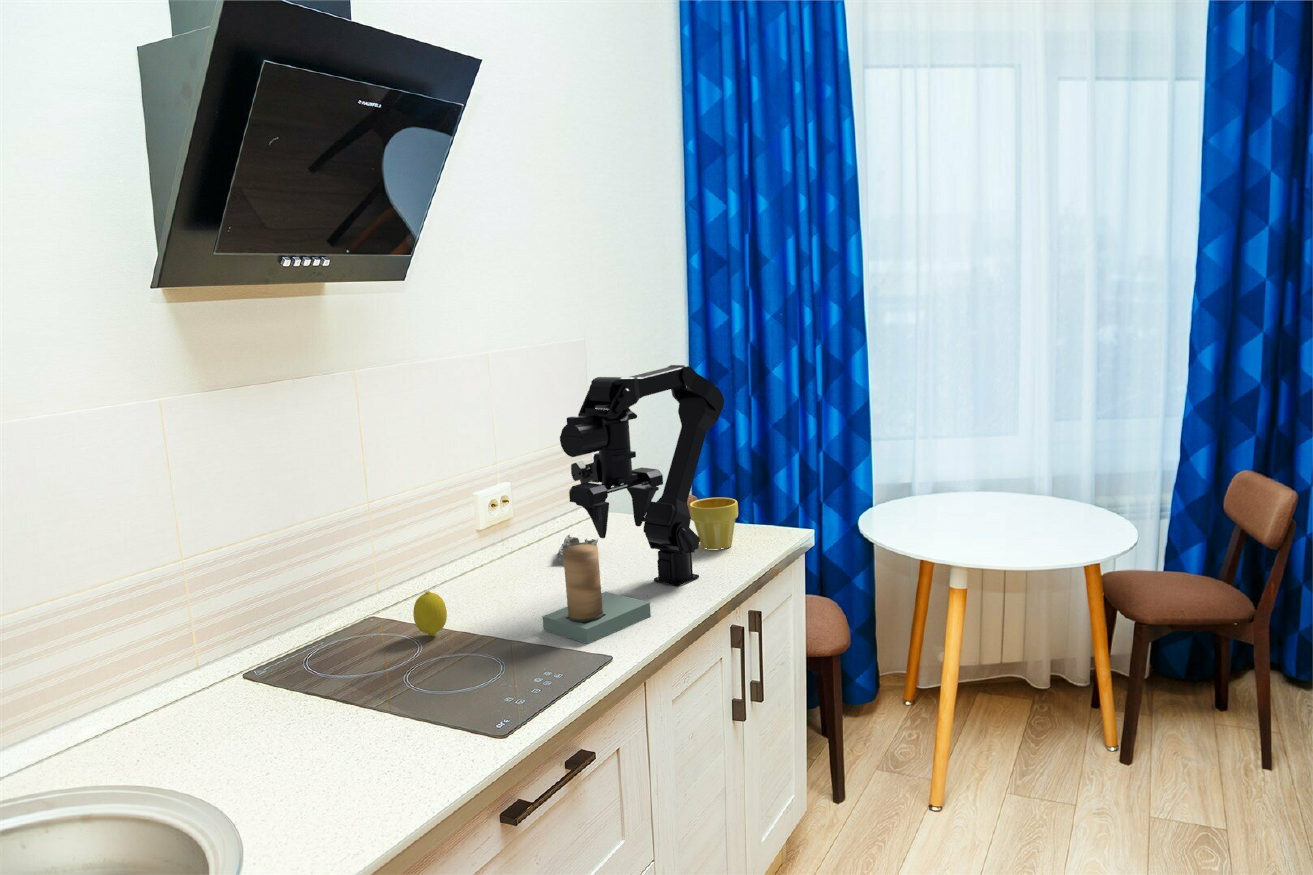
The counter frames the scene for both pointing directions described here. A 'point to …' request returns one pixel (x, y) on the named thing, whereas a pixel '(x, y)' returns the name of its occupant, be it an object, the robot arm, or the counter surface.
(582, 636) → the board
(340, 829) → the counter surface
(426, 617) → the lemon
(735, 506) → the plant pot
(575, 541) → the egg carton
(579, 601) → the peg
